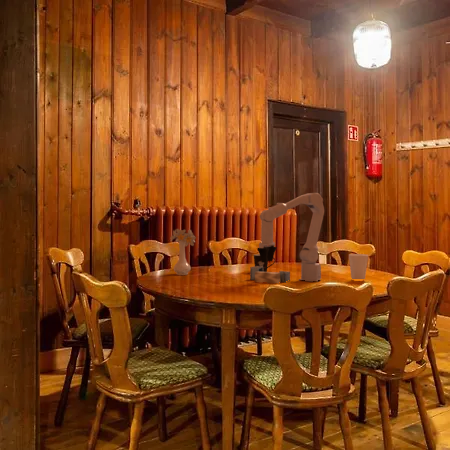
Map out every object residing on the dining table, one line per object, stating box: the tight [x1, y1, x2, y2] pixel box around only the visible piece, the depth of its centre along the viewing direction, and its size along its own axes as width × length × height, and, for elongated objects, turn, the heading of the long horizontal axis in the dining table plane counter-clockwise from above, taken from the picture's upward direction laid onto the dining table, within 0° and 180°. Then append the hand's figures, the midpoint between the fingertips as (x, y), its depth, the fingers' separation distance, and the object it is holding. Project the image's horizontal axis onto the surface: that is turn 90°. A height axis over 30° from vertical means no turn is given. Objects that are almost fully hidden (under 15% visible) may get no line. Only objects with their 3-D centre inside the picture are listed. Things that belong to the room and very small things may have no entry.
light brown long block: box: [254, 271, 281, 284], centre depth 234 cm, size 12×4×5 cm, turn 62°
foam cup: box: [348, 253, 369, 280], centre depth 241 cm, size 10×9×13 cm
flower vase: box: [169, 228, 197, 276], centre depth 261 cm, size 13×18×25 cm
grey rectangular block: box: [249, 265, 263, 281], centre depth 244 cm, size 4×7×6 cm, turn 151°
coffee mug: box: [253, 253, 276, 272], centre depth 270 cm, size 12×9×10 cm
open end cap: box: [274, 270, 291, 283], centre depth 238 cm, size 5×7×5 cm
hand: (267, 261), depth 235 cm, fingers open, 7 cm apart
